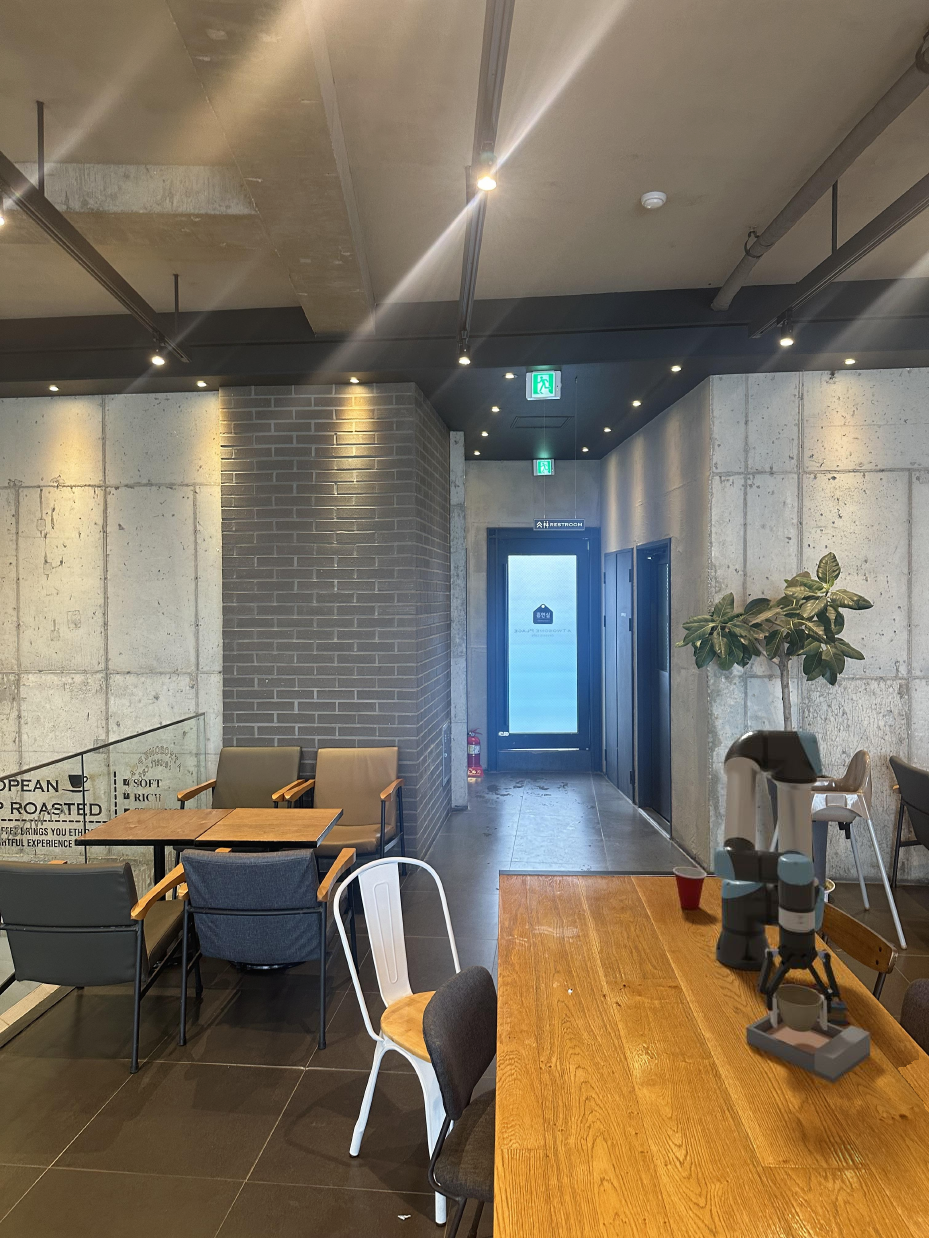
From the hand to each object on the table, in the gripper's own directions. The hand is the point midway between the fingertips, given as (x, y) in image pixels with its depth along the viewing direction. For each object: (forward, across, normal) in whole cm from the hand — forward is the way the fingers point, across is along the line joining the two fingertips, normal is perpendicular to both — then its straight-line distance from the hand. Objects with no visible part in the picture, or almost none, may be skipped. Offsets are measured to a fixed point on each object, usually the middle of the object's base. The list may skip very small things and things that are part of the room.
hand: (798, 1025), depth 176 cm
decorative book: (+5, +8, +16) cm, 19 cm away
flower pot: (0, 0, 0) cm, 0 cm away
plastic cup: (+4, -11, +84) cm, 85 cm away
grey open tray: (+5, +1, -1) cm, 5 cm away
